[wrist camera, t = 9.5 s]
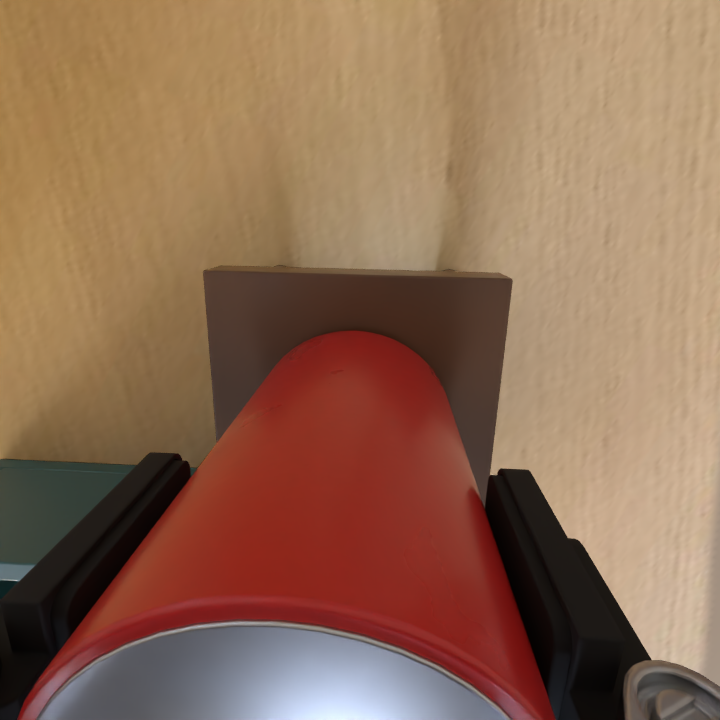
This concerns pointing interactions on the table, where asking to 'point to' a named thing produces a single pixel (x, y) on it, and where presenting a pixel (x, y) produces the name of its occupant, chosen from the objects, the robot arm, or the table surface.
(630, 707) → the robot arm
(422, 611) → the soda can
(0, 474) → the teal open box
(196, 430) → the table surface
